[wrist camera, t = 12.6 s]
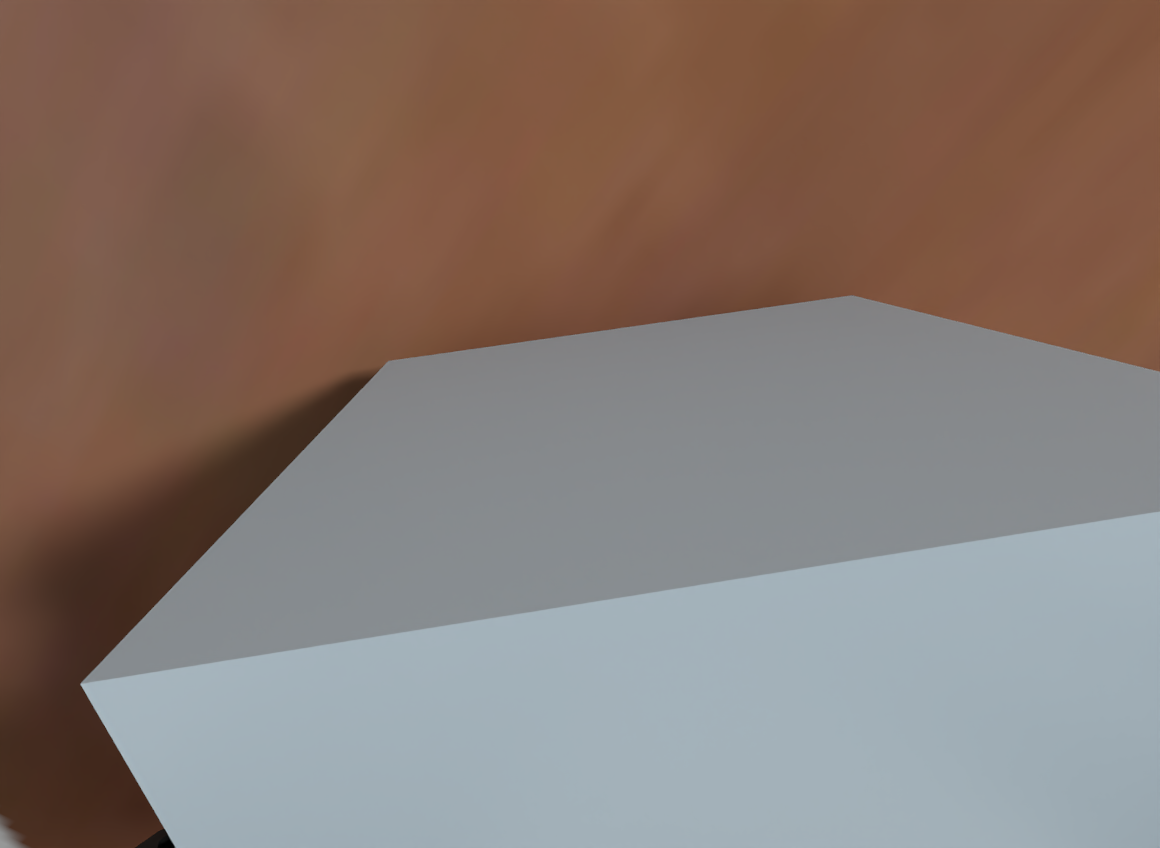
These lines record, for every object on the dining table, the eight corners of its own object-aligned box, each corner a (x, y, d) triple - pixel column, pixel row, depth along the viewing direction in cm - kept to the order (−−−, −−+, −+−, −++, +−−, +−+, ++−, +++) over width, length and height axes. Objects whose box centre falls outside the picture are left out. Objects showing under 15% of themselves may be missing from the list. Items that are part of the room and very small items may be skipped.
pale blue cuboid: (834, 655, 16) (1158, 1122, 8) (478, 714, 16) (423, 1271, 7) (852, 295, 12) (1499, 456, 4) (388, 361, 12) (79, 684, 4)
